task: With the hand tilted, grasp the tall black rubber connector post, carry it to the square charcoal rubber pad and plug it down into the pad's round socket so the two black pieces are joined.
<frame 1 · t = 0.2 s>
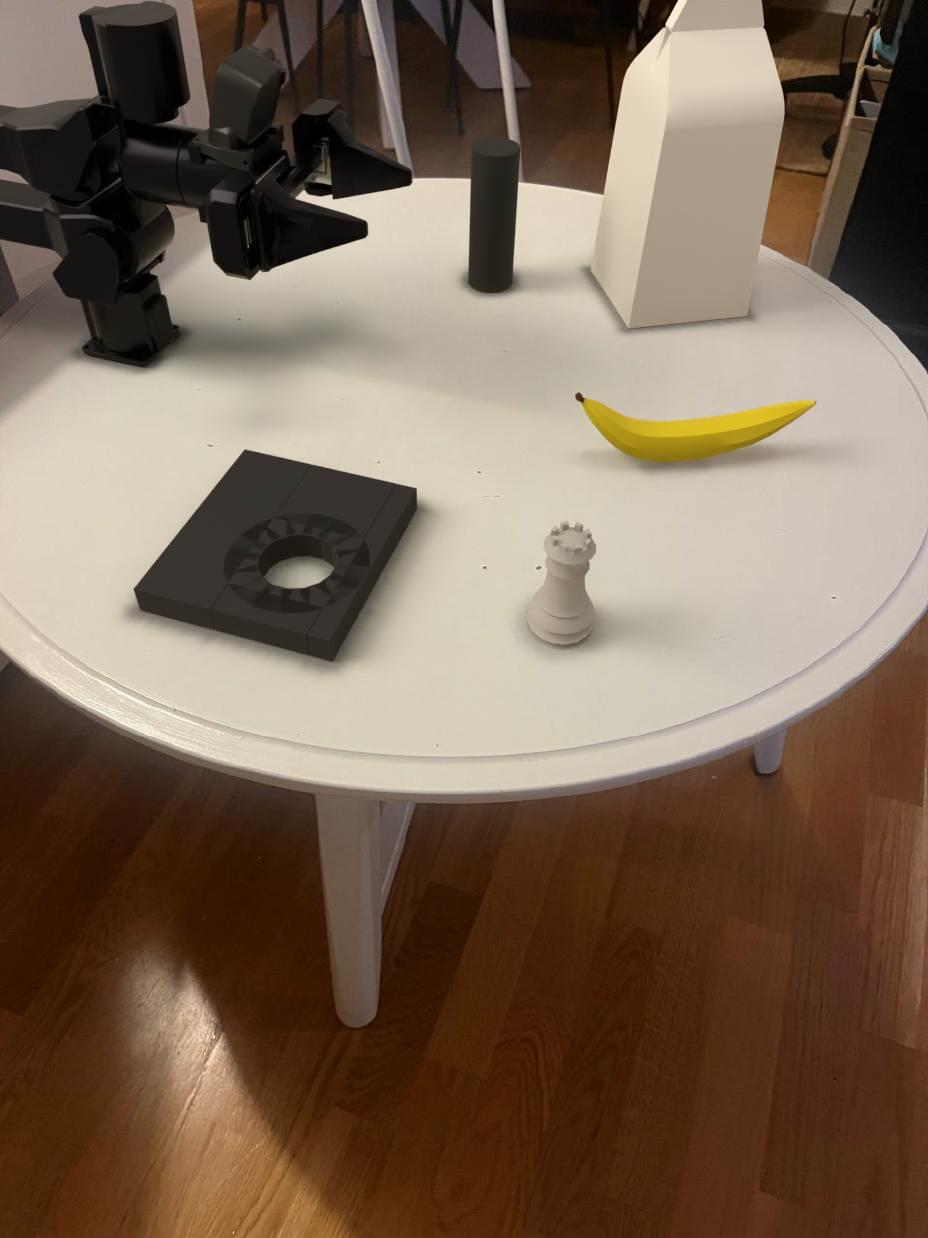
hand: (390, 202, 71), 17 cm above the table, tool horizontal, fingers open, 9 cm apart
rook chess piece: (559, 626, 65), on the table
banana: (684, 459, 78), on the table
connector post: (490, 281, 97), on the table
milk: (666, 294, 96), on the table
socket pad: (286, 556, 69), on the table
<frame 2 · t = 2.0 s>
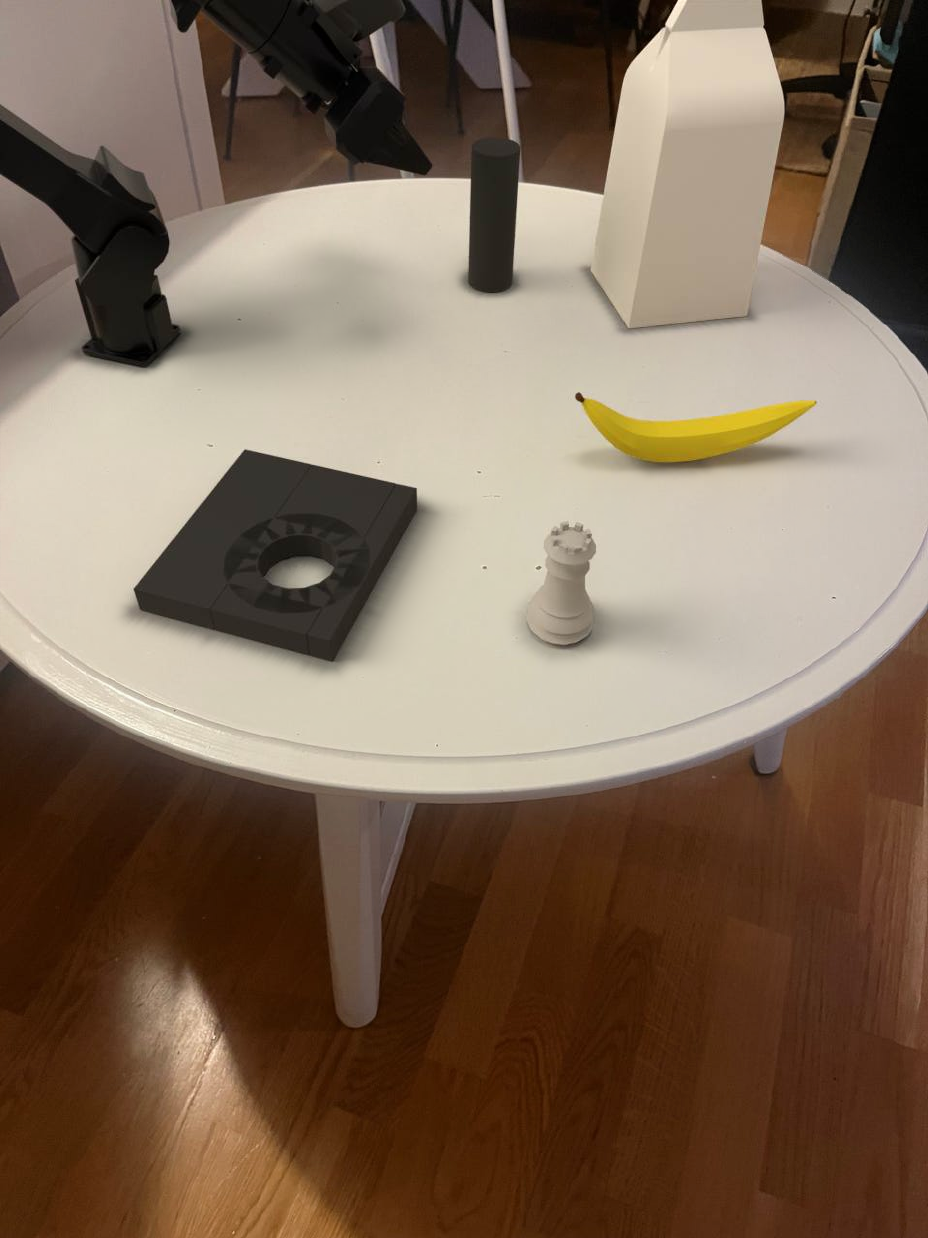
hand: (411, 149, 85), 14 cm above the table, tool tilted 45°, fingers open, 9 cm apart
nothing on the table moved.
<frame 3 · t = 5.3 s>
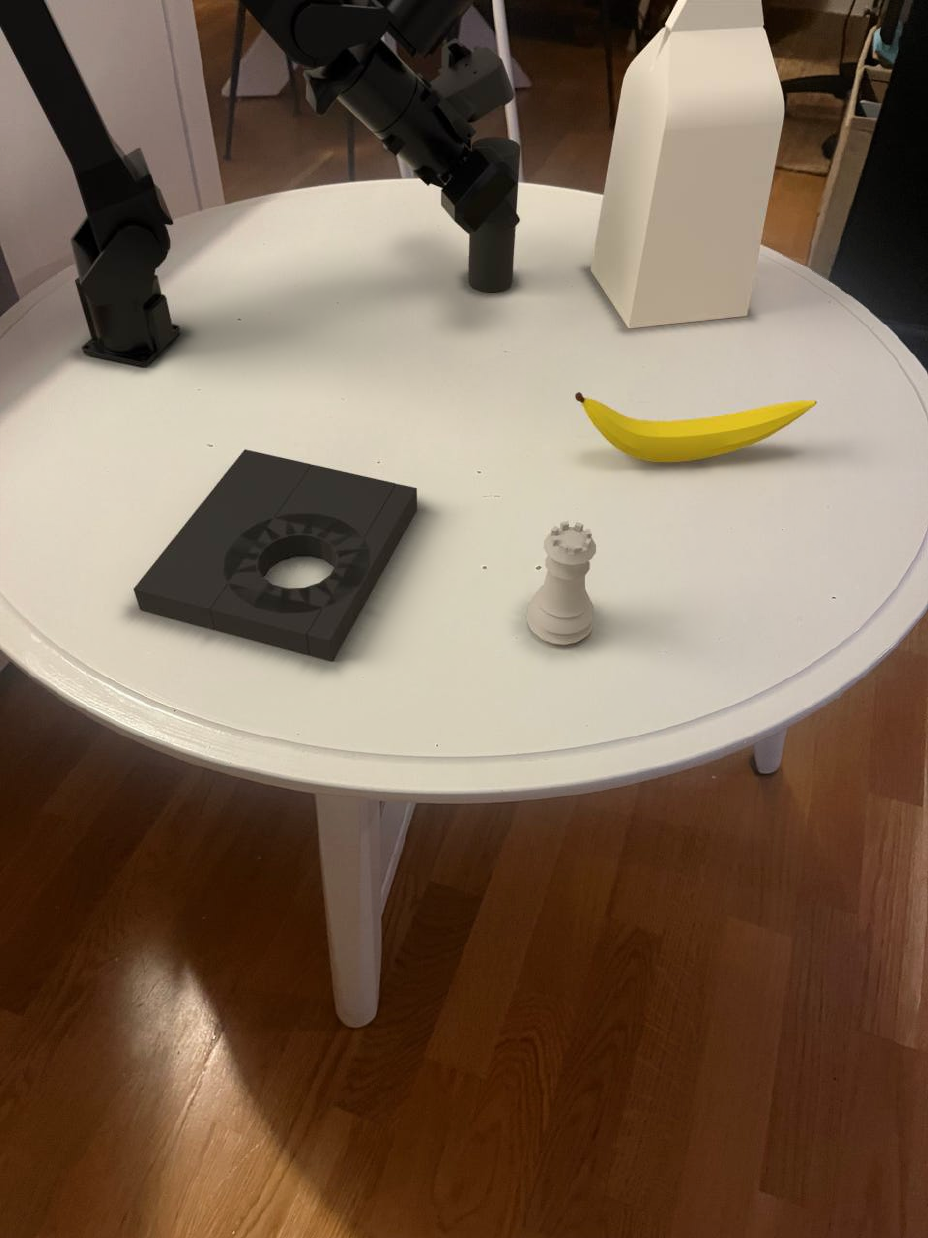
hand: (506, 213, 92), 7 cm above the table, tool tilted 45°, fingers closed on connector post, 4 cm apart
connector post: (490, 281, 97), on the table, touching gripper
everything else where it was.
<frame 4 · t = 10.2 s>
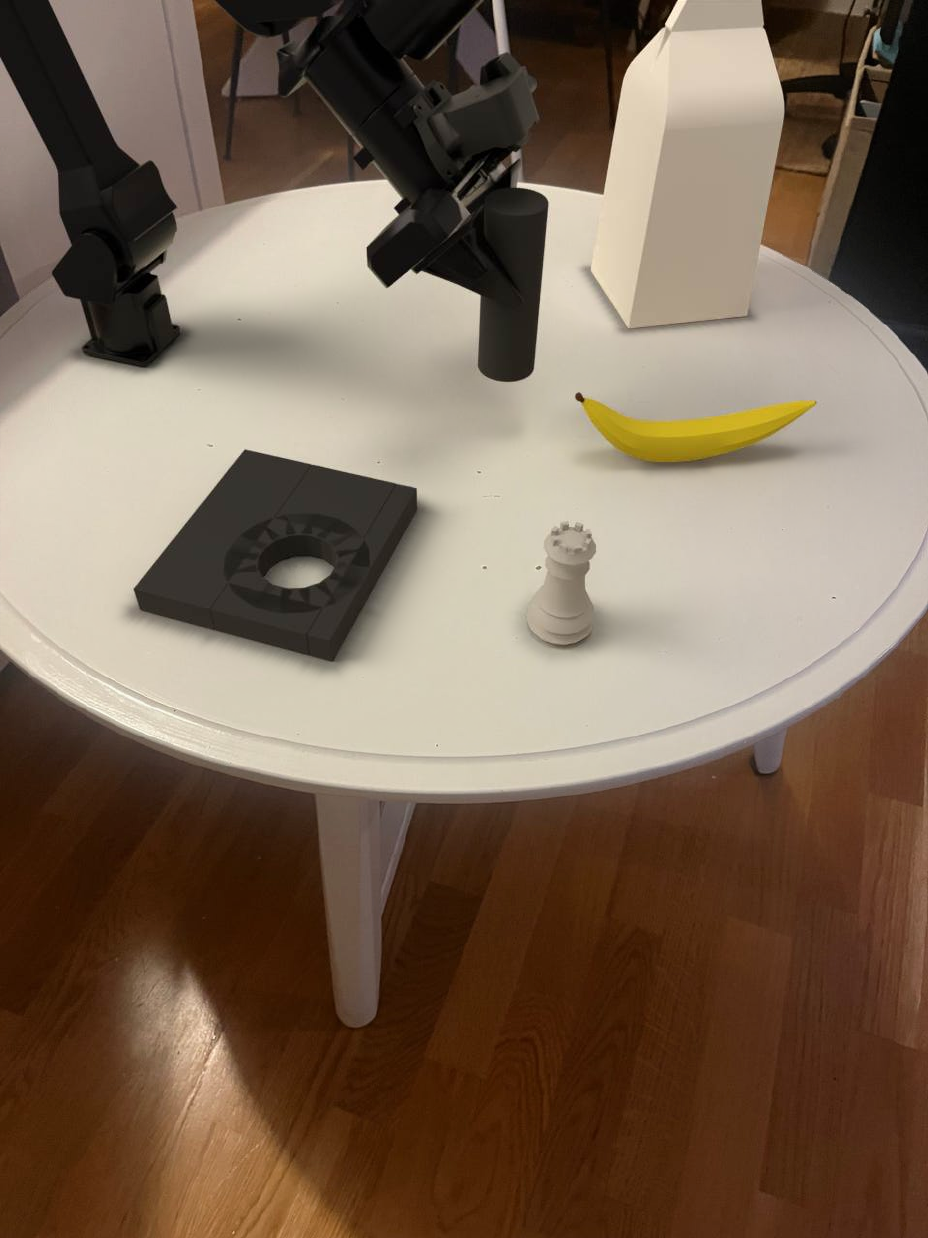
hand: (528, 290, 71), 12 cm above the table, tool tilted 45°, fingers closed on connector post, 4 cm apart
connector post: (505, 366, 76), point 6 cm above the table, touching gripper
everything else where it was.
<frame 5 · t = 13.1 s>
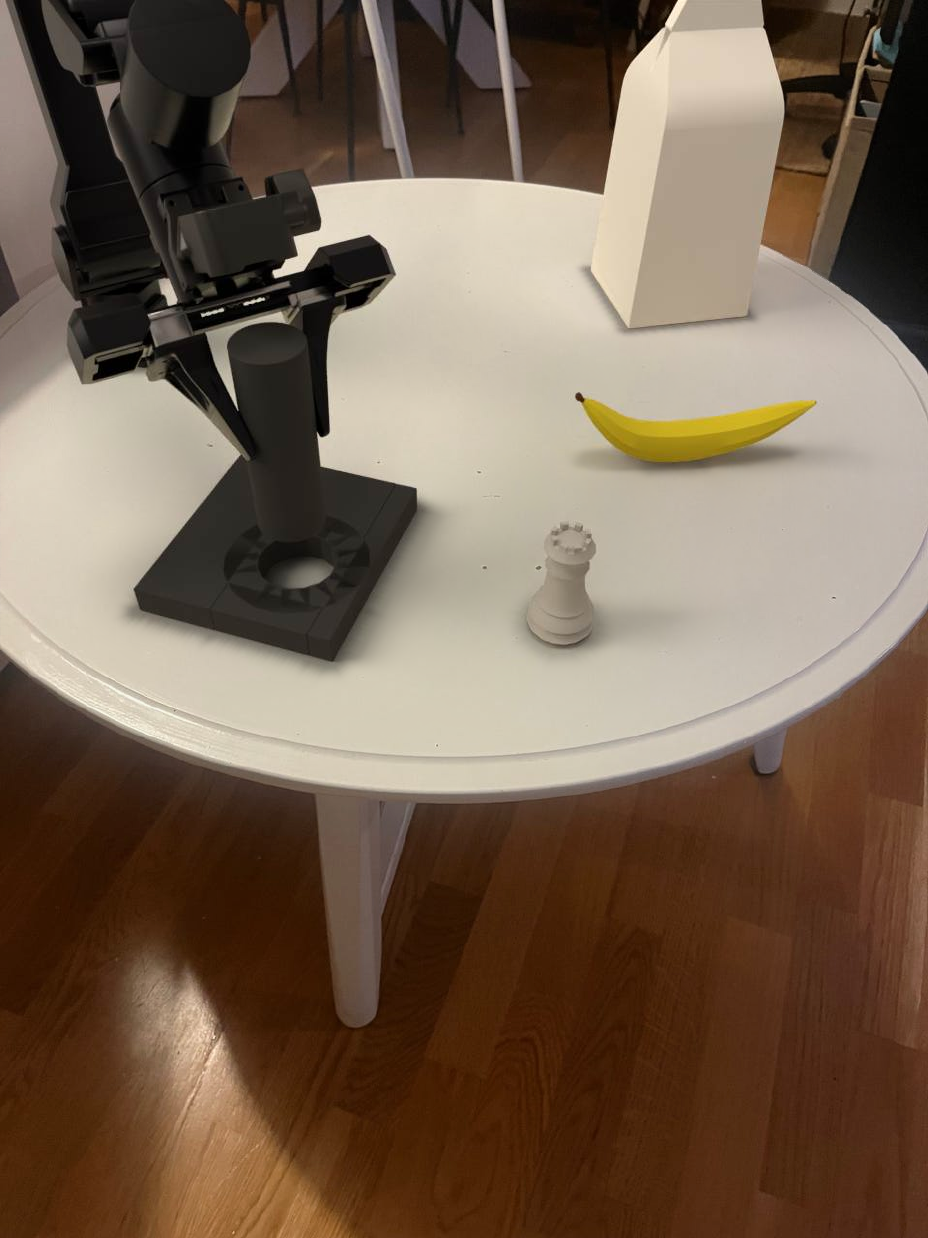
hand: (289, 447, 58), 12 cm above the table, tool tilted 45°, fingers closed on connector post, 4 cm apart
connector post: (292, 519, 63), point 6 cm above the table, touching gripper
everything else where it was.
when the fingers open (7 cm above the table, at t = 15.1 s): connector post stays where it is, resting in socket pad.
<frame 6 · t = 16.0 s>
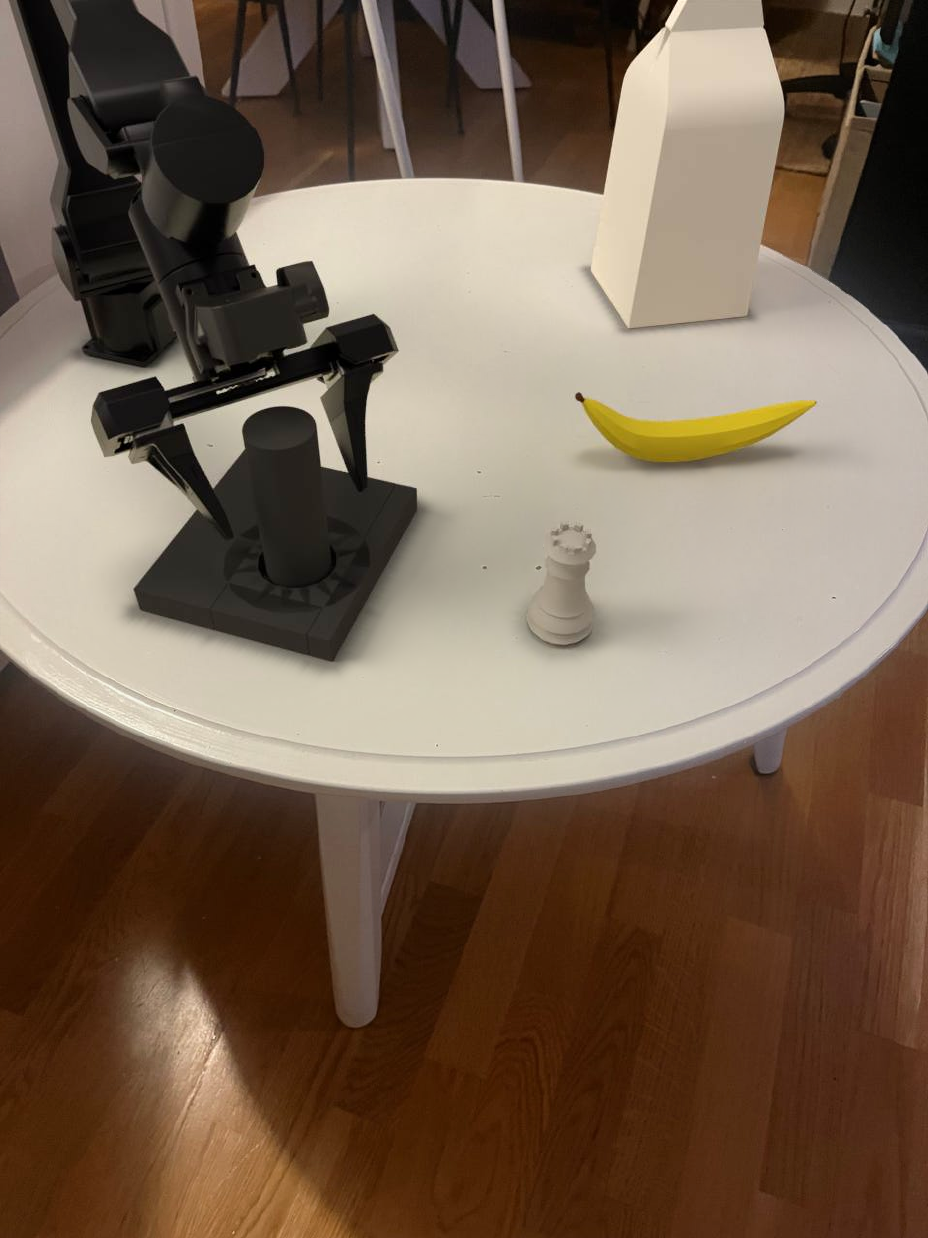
hand: (298, 514, 61), 7 cm above the table, tool tilted 45°, fingers open, 9 cm apart
connector post: (301, 582, 67), resting in socket pad
everything else where it was.
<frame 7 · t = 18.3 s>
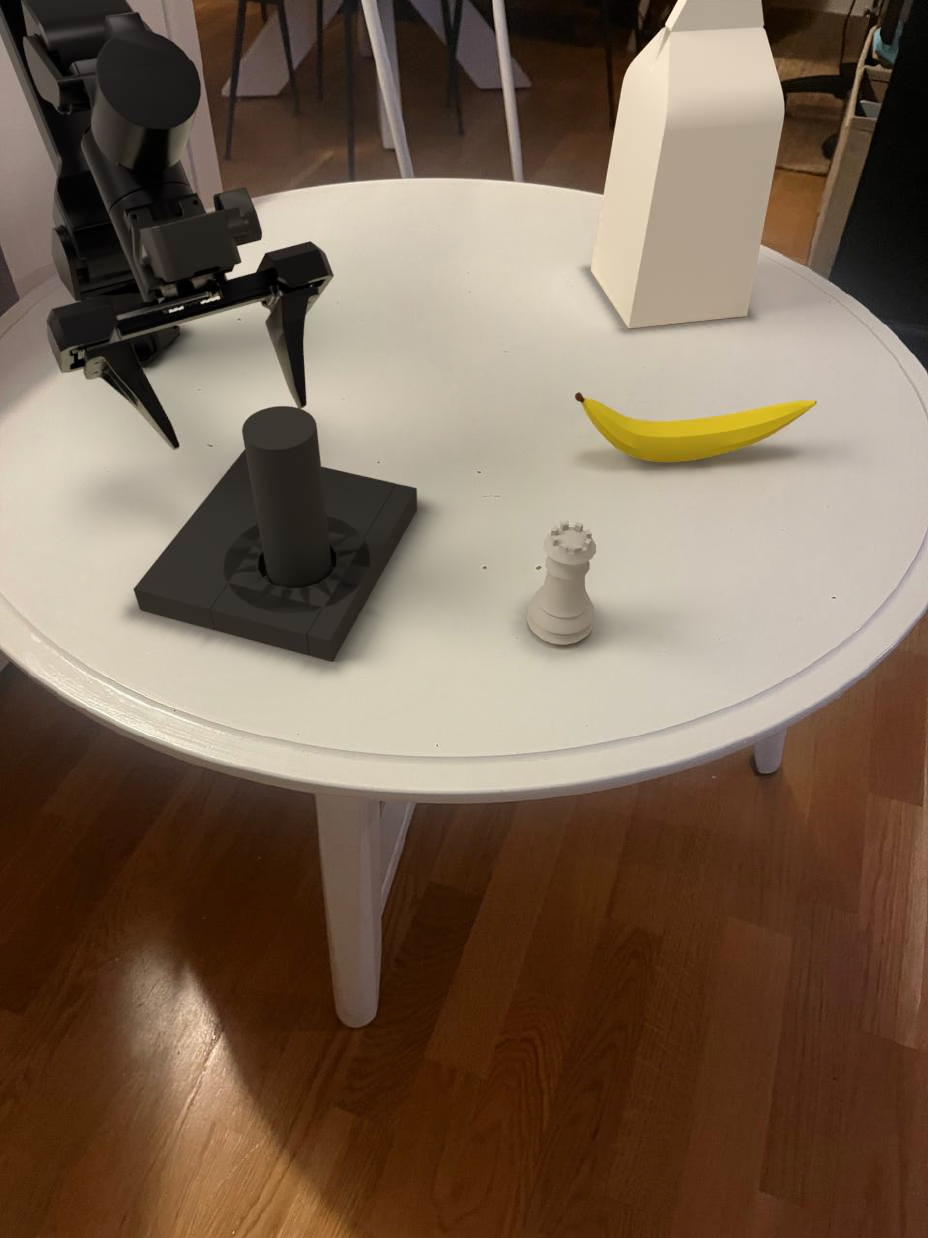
hand: (241, 427, 67), 8 cm above the table, tool tilted 45°, fingers open, 9 cm apart
nothing on the table moved.
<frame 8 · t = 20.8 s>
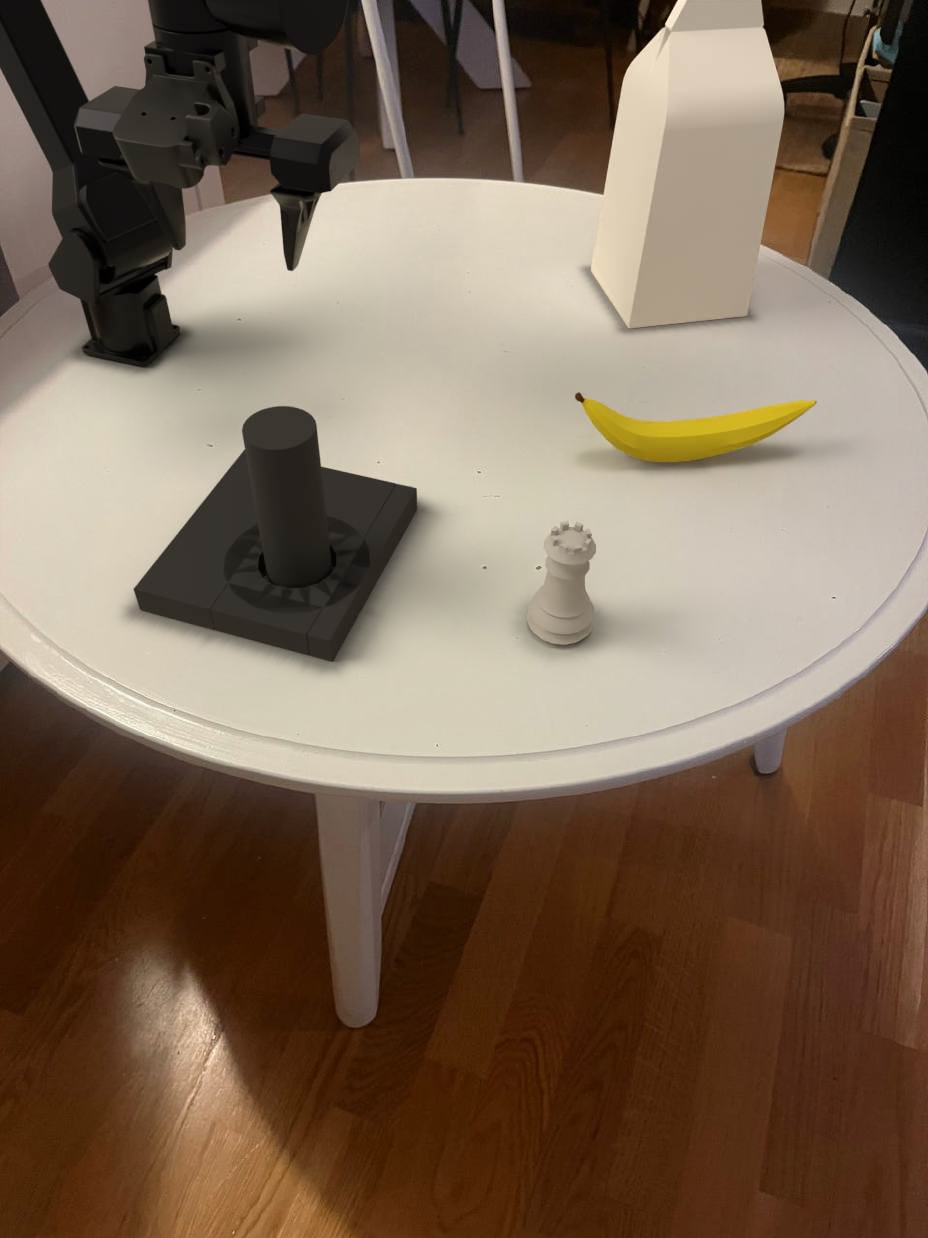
hand: (235, 258, 72), 13 cm above the table, tool pointing down, fingers open, 9 cm apart
nothing on the table moved.
at the end: connector post 0.1 cm from the target spot in the socket pad, point 0.0 cm above the socket pad's base; connector post tilted 0°; the gripper is holding nothing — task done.
